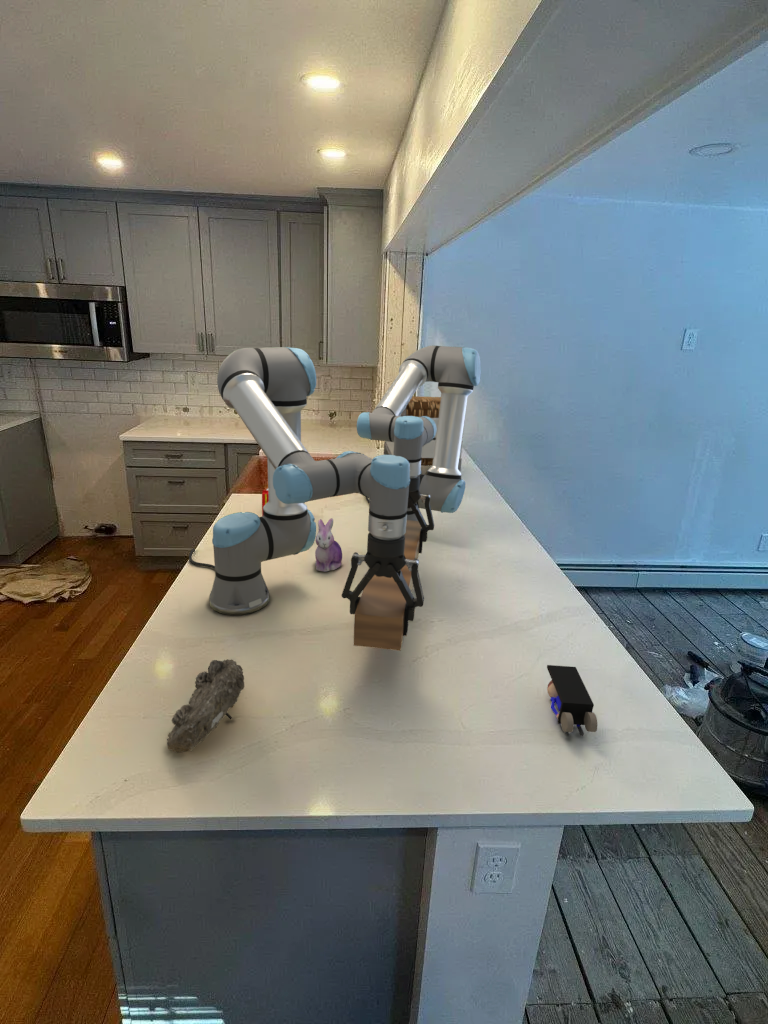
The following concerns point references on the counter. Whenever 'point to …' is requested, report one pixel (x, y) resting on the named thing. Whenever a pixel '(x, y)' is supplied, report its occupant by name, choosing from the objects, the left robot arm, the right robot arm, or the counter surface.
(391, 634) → the slab
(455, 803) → the counter surface
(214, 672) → the fossil
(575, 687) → the figurine character
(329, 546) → the figurine
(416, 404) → the light grey slatted crate
